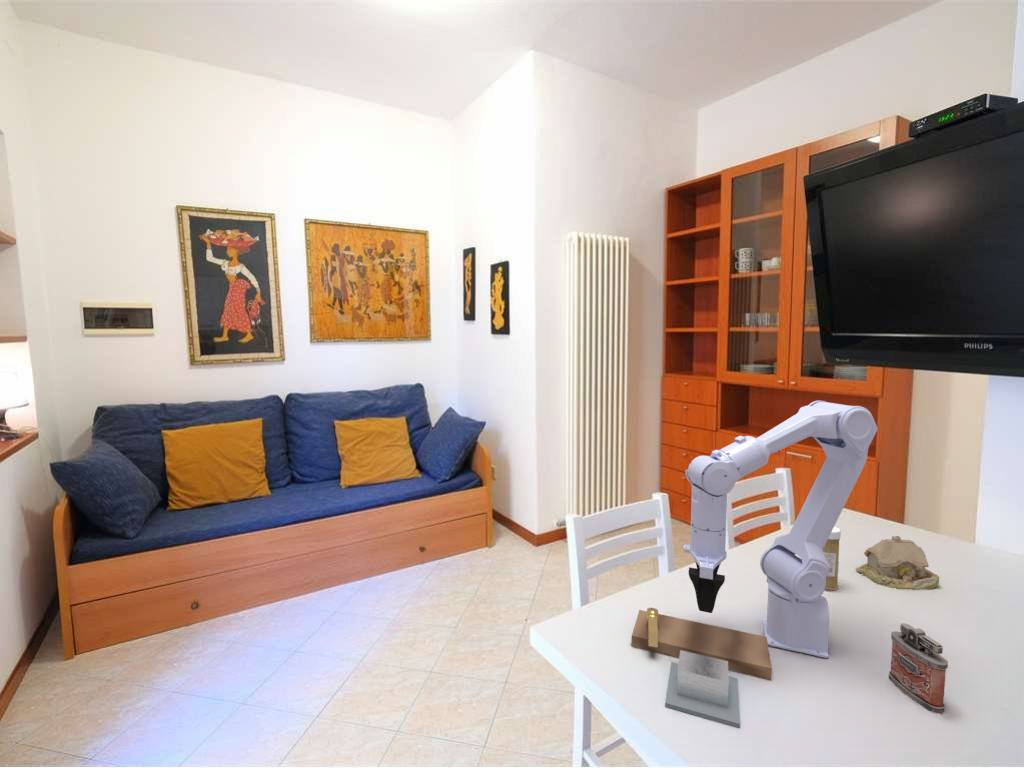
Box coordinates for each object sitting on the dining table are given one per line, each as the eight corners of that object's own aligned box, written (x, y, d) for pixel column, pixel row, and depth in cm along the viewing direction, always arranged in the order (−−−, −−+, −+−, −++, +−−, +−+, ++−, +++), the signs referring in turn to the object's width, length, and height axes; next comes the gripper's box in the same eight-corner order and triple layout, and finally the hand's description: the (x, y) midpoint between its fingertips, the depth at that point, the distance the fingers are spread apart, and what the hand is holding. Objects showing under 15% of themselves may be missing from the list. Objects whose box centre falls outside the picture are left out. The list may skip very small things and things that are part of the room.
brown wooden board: (766, 647, 84) (766, 636, 84) (771, 680, 76) (771, 668, 76) (639, 619, 93) (639, 609, 93) (631, 646, 85) (631, 635, 84)
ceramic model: (876, 588, 104) (878, 544, 104) (848, 565, 116) (850, 525, 115) (948, 593, 102) (951, 548, 102) (912, 569, 113) (915, 528, 113)
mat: (737, 681, 76) (737, 678, 75) (739, 728, 66) (739, 723, 66) (671, 665, 80) (671, 661, 79) (665, 706, 70) (665, 702, 70)
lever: (646, 621, 89) (646, 607, 88) (657, 623, 88) (658, 608, 88) (646, 645, 81) (647, 630, 81) (659, 647, 81) (659, 632, 81)
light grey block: (727, 685, 74) (727, 661, 74) (727, 708, 69) (728, 682, 69) (679, 673, 77) (680, 649, 76) (677, 694, 72) (677, 669, 72)
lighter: (882, 676, 77) (885, 616, 76) (901, 674, 77) (905, 615, 76) (930, 714, 69) (934, 648, 68) (951, 712, 69) (956, 647, 68)
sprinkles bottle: (841, 587, 105) (844, 528, 104) (832, 593, 102) (835, 533, 101) (819, 579, 109) (821, 522, 108) (809, 584, 106) (811, 526, 105)
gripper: (686, 509, 91) (684, 577, 92) (681, 537, 78) (679, 616, 79) (726, 514, 89) (724, 584, 90) (728, 544, 75) (725, 625, 76)
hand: (706, 599), depth 84 cm, fingers open, 7 cm apart
